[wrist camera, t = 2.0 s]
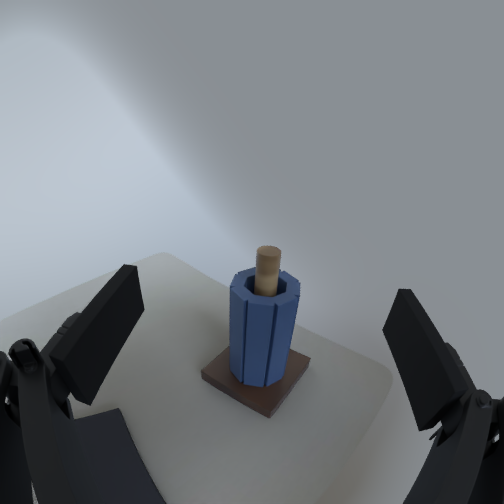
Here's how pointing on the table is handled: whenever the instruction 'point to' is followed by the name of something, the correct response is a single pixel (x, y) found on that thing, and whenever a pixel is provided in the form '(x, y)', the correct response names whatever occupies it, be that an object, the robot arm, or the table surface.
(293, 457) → the table surface
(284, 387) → the dowel stand
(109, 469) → the mat
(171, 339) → the table surface
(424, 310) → the robot arm
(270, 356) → the sleeve
